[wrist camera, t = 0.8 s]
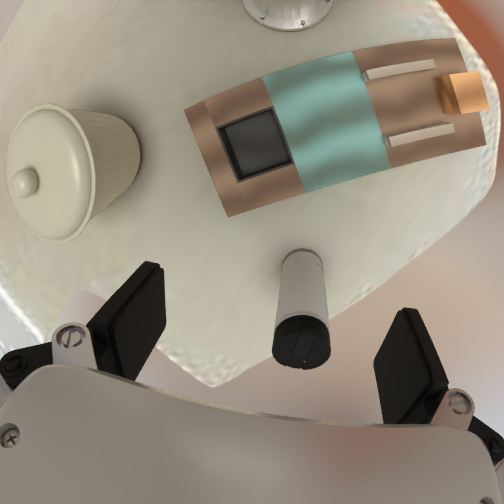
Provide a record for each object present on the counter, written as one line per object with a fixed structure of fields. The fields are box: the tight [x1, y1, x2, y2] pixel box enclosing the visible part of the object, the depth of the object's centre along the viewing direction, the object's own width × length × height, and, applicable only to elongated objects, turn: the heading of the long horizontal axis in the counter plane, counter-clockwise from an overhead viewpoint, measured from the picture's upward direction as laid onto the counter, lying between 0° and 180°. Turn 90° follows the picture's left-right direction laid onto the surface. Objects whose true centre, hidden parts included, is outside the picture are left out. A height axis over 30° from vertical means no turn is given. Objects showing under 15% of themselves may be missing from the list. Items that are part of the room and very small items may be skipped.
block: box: [433, 71, 490, 114], centre depth 26 cm, size 5×5×5 cm
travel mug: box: [272, 249, 331, 370], centre depth 38 cm, size 6×7×20 cm
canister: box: [5, 104, 140, 244], centre depth 34 cm, size 18×18×21 cm
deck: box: [184, 38, 486, 217], centre depth 33 cm, size 16×40×7 cm, turn 111°
